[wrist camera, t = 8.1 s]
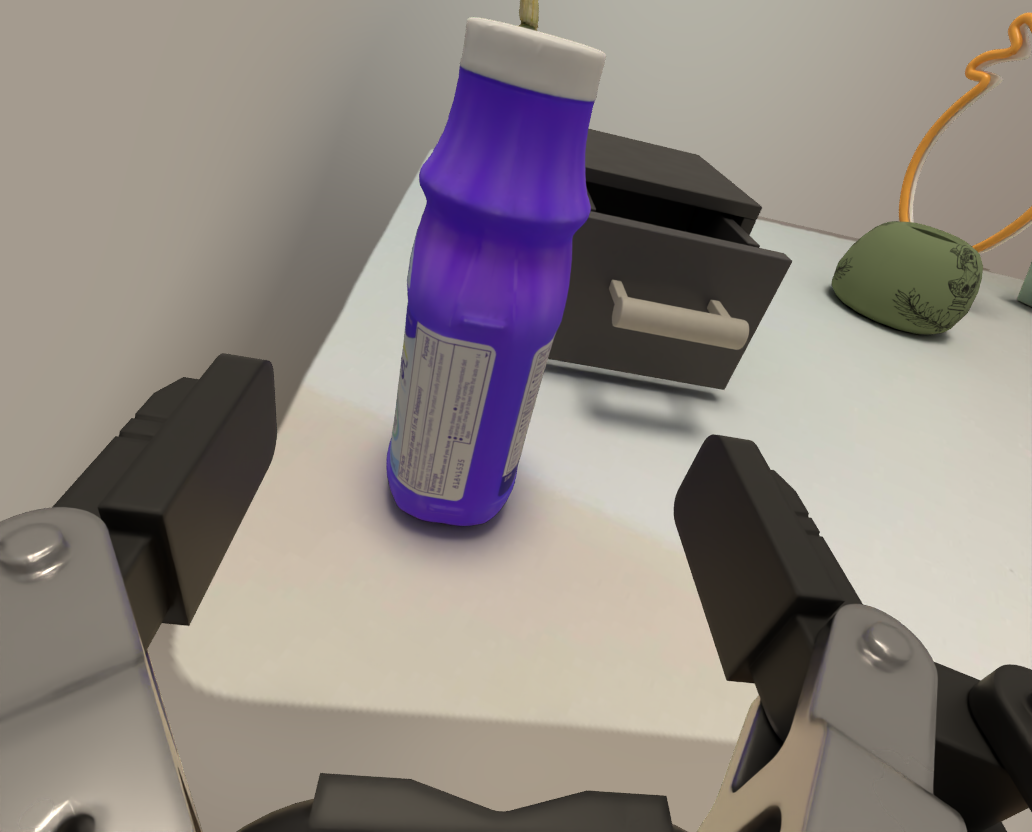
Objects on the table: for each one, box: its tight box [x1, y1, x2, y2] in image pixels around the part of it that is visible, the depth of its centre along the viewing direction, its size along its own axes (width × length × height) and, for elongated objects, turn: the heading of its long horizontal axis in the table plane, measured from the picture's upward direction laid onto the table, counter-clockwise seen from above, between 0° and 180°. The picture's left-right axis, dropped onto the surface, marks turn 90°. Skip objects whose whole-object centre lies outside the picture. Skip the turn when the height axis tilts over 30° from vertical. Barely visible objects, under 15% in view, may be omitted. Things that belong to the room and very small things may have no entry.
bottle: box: [387, 17, 606, 526], centre depth 21 cm, size 7×6×17 cm
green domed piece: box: [832, 221, 983, 335], centre depth 58 cm, size 16×13×9 cm
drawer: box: [548, 182, 792, 390], centre depth 36 cm, size 18×13×9 cm
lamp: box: [899, 13, 1032, 254], centre depth 63 cm, size 17×9×32 cm, turn 21°
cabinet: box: [585, 129, 762, 235], centre depth 44 cm, size 15×14×11 cm
